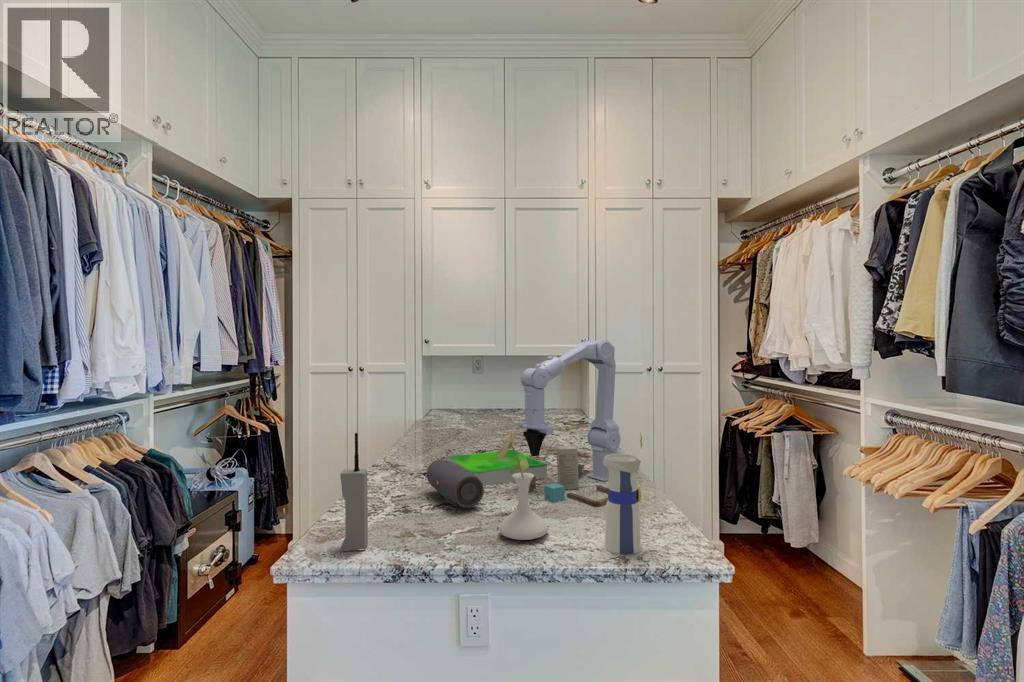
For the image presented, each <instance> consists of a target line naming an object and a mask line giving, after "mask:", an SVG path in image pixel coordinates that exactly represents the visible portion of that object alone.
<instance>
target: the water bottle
mask: <svg viewBox="0 0 1024 682" xmlns="http://www.w3.org/2000/svg"><path fill="white" fill-rule="evenodd" d="M639 442H640V449H642V448H643V436H642V433H641V432H639ZM641 461H642V460H640V459H638V457H637V456H635V455H634V454H629V453H622V454H610V455H606V456H605V457H604V461H603V465H604V466H606V467H608V471H609V480H608V481H606V483H605V487H606V488H608V493H607V498H608V501H607V504H605V529H604V530H605V531H604V532H605V533H604V548H605V550H606V551H607V552H610V553H613V554H618V555H634V554H637V553H639V552H641V551H642V541H641V526H640V525H641V520H640V519H641V518H640V515H641V514H640V504H639V503H640V502H641V500H642V492H641V488H640V487H641V486H640V485H639V483H638V481H637V480H638V479H637V476H640V475H639V469H640V466H641V465H640V464H641V463H642V462H641Z"/></svg>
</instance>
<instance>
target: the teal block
mask: <svg viewBox="0 0 1024 682" xmlns="http://www.w3.org/2000/svg"><path fill="white" fill-rule="evenodd" d="M543 486H544V493H543V495H544V500H545V499H546V500H545V501H547V500H548V502H550V501H551V502H550V503H552V502H553V504H555V503H554V502H556V503H559V502H558V501H560V502H563V500H564V501H566V489H565V486H563V485H560V484H558V482H557V483H556V482H555V483H549V484H545V485H543Z"/></svg>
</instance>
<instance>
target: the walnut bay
mask: <svg viewBox="0 0 1024 682" xmlns="http://www.w3.org/2000/svg"><path fill="white" fill-rule="evenodd" d="M596 491H598V492H602V493H604V494H605V493H606V494H608V488H607V486H602V485H598V486H596ZM566 497H567V498H569V499H571V498H572V499H571V500H574V499H575V501H577V500H578V501H577V502H580V503H583V504H586V505H588V504H589V506H591V507H595V508H597V507H601V506H606V504H607V501H608V497H604V498H602V499H598V500H594V499H591V498H588V497H586V496H583V495H581V494H580V495H579V494H577V493H574V492H567V493H566Z"/></svg>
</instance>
